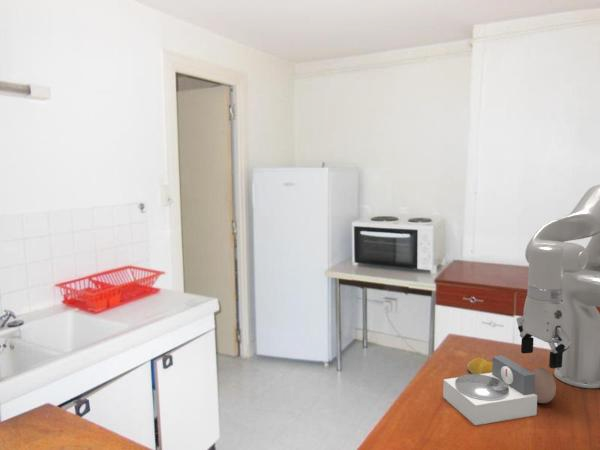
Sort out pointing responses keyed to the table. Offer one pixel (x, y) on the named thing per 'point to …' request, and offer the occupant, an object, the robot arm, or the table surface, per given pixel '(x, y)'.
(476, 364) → the bread roll
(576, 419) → the table surface
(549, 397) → the egg
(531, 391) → the kitchen scale
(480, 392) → the scale pan
